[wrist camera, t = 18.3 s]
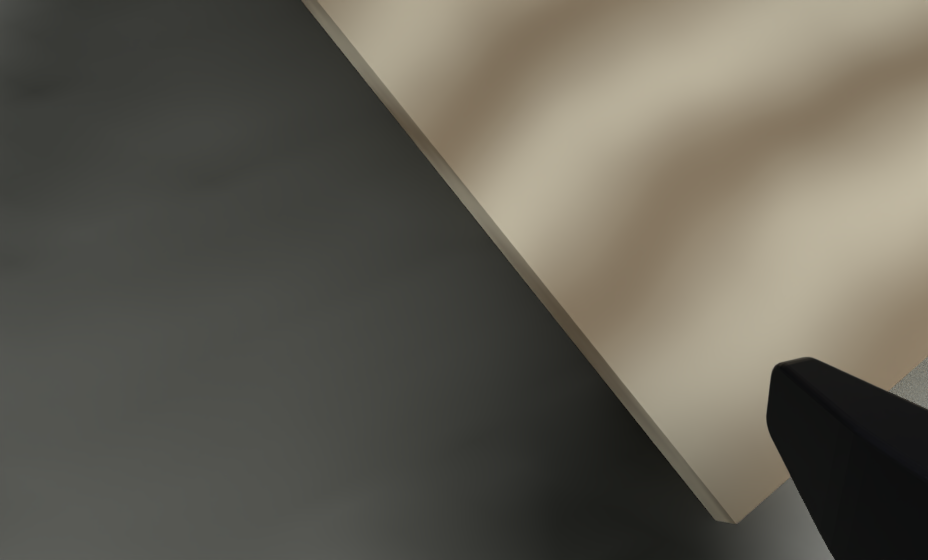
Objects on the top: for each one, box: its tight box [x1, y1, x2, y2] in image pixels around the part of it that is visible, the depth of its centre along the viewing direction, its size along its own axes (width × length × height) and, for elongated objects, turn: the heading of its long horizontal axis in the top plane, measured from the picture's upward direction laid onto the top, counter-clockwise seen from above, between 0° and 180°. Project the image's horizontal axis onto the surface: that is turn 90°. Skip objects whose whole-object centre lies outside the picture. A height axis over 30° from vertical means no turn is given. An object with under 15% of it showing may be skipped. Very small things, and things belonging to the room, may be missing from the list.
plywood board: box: [301, 0, 928, 524], centre depth 25 cm, size 26×17×2 cm, turn 38°
